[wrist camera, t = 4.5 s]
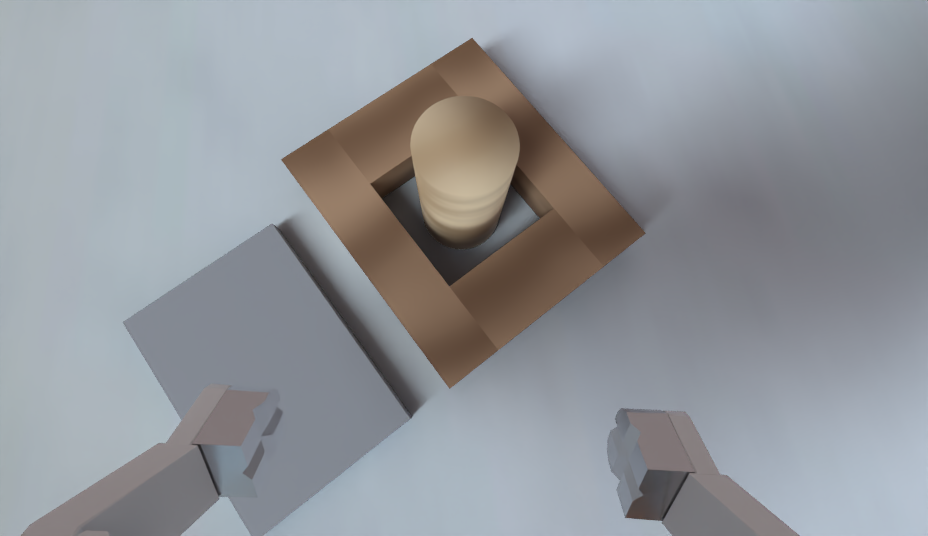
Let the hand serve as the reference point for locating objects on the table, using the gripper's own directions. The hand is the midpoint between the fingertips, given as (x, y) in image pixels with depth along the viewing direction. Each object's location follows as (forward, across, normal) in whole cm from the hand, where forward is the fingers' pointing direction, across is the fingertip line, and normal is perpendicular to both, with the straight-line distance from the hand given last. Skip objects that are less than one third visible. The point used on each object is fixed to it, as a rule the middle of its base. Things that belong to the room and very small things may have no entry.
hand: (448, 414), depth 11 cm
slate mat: (+10, +10, +9) cm, 16 cm away
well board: (+16, 0, +2) cm, 17 cm away
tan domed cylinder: (+16, 0, +2) cm, 17 cm away
